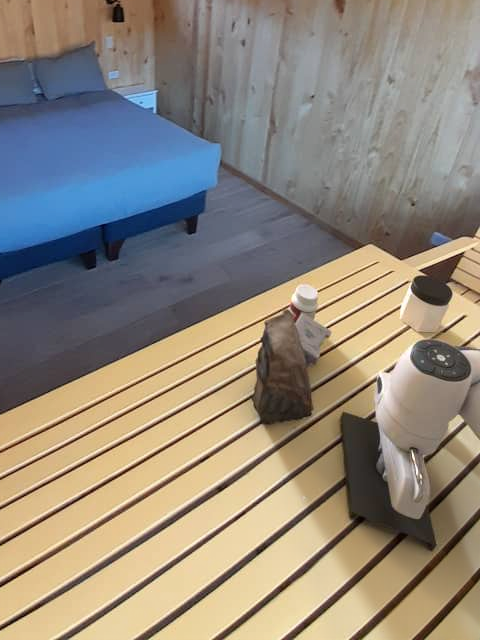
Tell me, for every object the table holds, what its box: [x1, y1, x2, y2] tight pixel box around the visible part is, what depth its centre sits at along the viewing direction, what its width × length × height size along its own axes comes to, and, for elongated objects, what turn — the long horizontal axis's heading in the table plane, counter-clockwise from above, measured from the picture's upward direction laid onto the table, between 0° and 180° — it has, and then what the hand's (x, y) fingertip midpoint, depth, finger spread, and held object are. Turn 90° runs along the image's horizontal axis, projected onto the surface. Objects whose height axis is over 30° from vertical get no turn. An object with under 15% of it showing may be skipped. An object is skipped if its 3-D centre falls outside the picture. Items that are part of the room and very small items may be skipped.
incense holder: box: [295, 314, 332, 370], centre depth 93 cm, size 10×8×10 cm
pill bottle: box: [288, 284, 319, 323], centre depth 103 cm, size 6×6×11 cm
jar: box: [399, 274, 454, 333], centre depth 103 cm, size 9×8×12 cm
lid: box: [339, 411, 438, 552], centre depth 73 cm, size 12×18×6 cm, turn 158°
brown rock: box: [251, 308, 315, 426], centre depth 84 cm, size 13×13×20 cm
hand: (385, 466), depth 73 cm, fingers closed on lid, 2 cm apart
